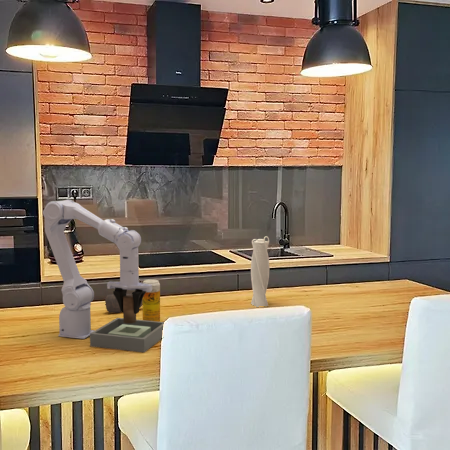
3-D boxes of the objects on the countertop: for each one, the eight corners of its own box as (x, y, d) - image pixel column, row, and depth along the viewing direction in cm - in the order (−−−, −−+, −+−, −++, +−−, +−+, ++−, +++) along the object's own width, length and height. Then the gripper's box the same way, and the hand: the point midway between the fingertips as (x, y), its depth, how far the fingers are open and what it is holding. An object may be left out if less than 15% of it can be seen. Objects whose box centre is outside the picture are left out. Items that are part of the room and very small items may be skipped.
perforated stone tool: (141, 307, 213) (141, 290, 212) (145, 311, 209) (145, 293, 208) (102, 311, 207) (102, 293, 206) (105, 315, 202) (105, 296, 202)
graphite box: (90, 346, 168) (89, 333, 168) (117, 329, 186) (117, 317, 185) (144, 352, 163) (144, 339, 163) (167, 334, 181) (167, 322, 180)
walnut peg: (121, 322, 172) (120, 297, 171) (127, 319, 176) (126, 294, 175) (132, 323, 171) (132, 298, 170) (138, 320, 175) (138, 295, 174)
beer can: (143, 326, 189) (143, 283, 187) (141, 321, 195) (141, 279, 193) (161, 325, 191) (161, 282, 189) (158, 320, 197) (158, 278, 195)
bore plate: (108, 340, 171) (108, 333, 171) (122, 331, 181) (122, 324, 180) (137, 344, 168) (137, 336, 168) (151, 334, 178) (151, 326, 177)
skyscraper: (272, 307, 216) (274, 236, 212) (255, 309, 213) (256, 237, 210) (263, 302, 223) (265, 233, 220) (247, 304, 220) (248, 234, 217)
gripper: (102, 270, 170) (102, 313, 172) (145, 273, 166) (145, 317, 168) (112, 266, 177) (113, 308, 178) (154, 269, 173) (155, 311, 174)
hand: (129, 312), depth 173 cm, fingers closed on walnut peg, 4 cm apart
